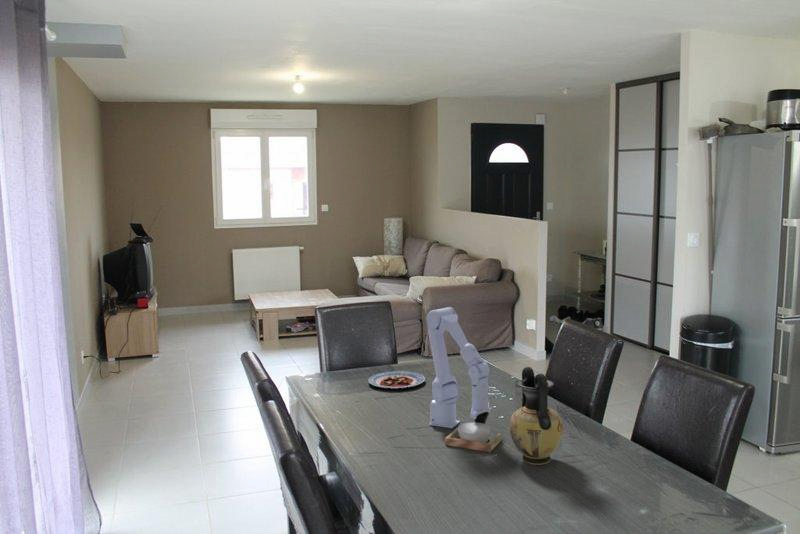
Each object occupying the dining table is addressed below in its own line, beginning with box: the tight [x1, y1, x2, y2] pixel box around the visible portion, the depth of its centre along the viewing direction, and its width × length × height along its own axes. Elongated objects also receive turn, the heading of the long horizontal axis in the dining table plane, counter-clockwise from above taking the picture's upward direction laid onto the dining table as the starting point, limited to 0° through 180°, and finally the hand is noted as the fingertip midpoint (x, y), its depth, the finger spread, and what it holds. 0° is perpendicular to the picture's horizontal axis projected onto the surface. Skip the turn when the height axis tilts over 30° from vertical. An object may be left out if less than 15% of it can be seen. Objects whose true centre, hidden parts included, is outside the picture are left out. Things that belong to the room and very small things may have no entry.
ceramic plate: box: [367, 370, 426, 390], centre depth 316 cm, size 26×26×3 cm
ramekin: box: [457, 421, 491, 443], centre depth 243 cm, size 11×11×5 cm
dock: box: [444, 426, 502, 453], centre depth 242 cm, size 16×11×2 cm
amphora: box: [509, 366, 564, 466], centre depth 225 cm, size 18×17×30 cm
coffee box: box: [514, 379, 522, 412], centre depth 257 cm, size 9×6×16 cm
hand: (480, 432), depth 248 cm, fingers closed
